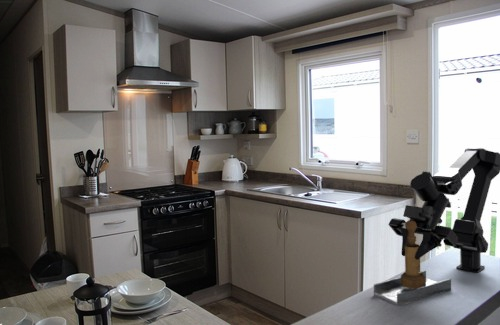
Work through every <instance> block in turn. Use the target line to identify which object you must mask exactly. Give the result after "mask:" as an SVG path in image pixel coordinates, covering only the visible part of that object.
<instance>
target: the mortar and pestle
mask: <svg viewBox="0 0 500 325" xmlns="http://www.w3.org/2000/svg"><path fill="white" fill-rule="evenodd" d="M405 222H406V224H405V227H406V229H407V231H408V233H409V235H408V236H407V239H408V242H409V244H405V256H404V260H405V261H404V263H405V264H404V265H405V272H403V273H402V274H400V277H401V284H402V285H403V286H404V287H408V288H413V289H416V288H419V287H423V286H426V278H427V276H426V277H425V276H424V275H423V274H422V273H420V272H421V258H419V259H418V260H417V259H415V255H416V252H417V250H418V248H419V246H420V244H417V243H416V241H417V237H416V235H415V233H414V232H415V230H416V228H417V224H416V222H415V221H413V220H410V219H409V220H407V221H405Z"/></svg>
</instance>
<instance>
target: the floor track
mask: <svg viewBox="0 0 500 325" xmlns="http://www.w3.org/2000/svg"><path fill="white" fill-rule="evenodd" d="M420 273H422V274H423V275H424V276H425V277H426V286H423V287H419V288H416V289H413V288H408V287H404V286H403V285H402V284H401V276H399V277H396V278H391V279H389V280H385V281H381V282H376V283H374V284H373V295H374V296H375V297H378V298H380V299H382V300H384V301H387V302H389V303H391V304H393V305H396V306H397V307H400V306H403V305H406V304H409V303H412V302H416V301H419V300H423V299H426V298H429V297H431V296H435V295H438V294H441V293H445V292H448V291H451V290H452V279H451V278H447V279H443V280H440V281H436V280H433V279H429V278H428V277H427V270H422V271H421V270H420Z"/></svg>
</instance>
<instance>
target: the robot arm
mask: <svg viewBox="0 0 500 325" xmlns="http://www.w3.org/2000/svg"><path fill="white" fill-rule="evenodd" d="M463 152H464V153H462V155H460V156H459V158H457V159H456V160H455V161H454V163H453V164H451V165H449V166H450V167H448V168H447V169H444V170H440V171H439V172H437V173H435V174H433V175H432V172H430V171H426V170H425V171H424V170H423V171H422V173H420V174H418V175H416V176H414V177H413V178H412V179H411V181H410V187H411V189H412V190H413V191H414V192H415V194H416V195H417V197H418V199H420V200H421V201H422V202H423V204H422V206H415V205H408V204H407V205H405V207H404V211H403V215H402V216H403V217H405V218H408V219H409V220H413V221H415V222H416V224H417V228H416V230H415V232H414V234H417V235H418V234H419V235H422V239H421V242H420V243H419V248H418V250H417V252H416V255H415V259H417V260H418V259H419V258H420V259H421V258H422V257H423V256H425V255H426V254H428V253H429V252H430V251H433V250H434V249H436V248H438V247H440V248H441V247H442V241H443V244H444V245H445V246H447V247H452V248H454V249H457V250H458V249H459V250H460V252H459V255H460V256H459V257H460V260H459V262H460V263H459V265H457V266H456V267H455V268H456V269H457V270H461V271H466V272H467V271H468V272H473V273H479V272H480V271H482V270H484V269H485V267H486V266H485V265H482V264H481V259H482V258H481V254H482V253H484V254H485V253H487V251H488V250H489V249H488V248H489V242H488V241H487V240H486V239H485V237H484V229H483V226H482V223H481V220H482V216H483V212H484V209H485V205H486V201H487V198H488V194H489V190H490V186H491V183H492V181H493V179H495V178H496V177H497V176H498V175H499V174H500V152H499V151H497V152H496V151H490V150H488V149H485V148H483V147H467V148H465V150H464V151H463ZM471 171H473V173H474V177H473V180H472V183H471V184H472V185H471V188H470V192H469V195H468V199H467V202H466V205H465V209H464V211H463V212H464V214H463V216H462V217H461V218H457V219H455V220H454V224H453V226H452V228H451V227H450V226H444V225H440V224H442V223H443V220H442V216H443V215H444V212H445V210H446V208H449V209H450V208H452V204H451V202H450V198H448V197H447V196H455V195H457V194H458V193H459V192H460V190H461V188H462V187H463V182H462V181H463V179H464V178H465V177H466V176H467V174H469V173H470V172H471ZM446 195H447V196H446ZM406 222H407V221H406V220H405V219H403V218H397V217H393V218H391V219H390V221H389V222H388V226H389V227H390V229H391V230H392V231H393V232H394V233H395V235H396V236H399V237H401V238H402V241H401V242H402V243H401V255H402V256H403V257H405V244H409V242H408V239H407V236H408V235H409V233H408V231H407V229H406V227H405V224H406Z"/></svg>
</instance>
